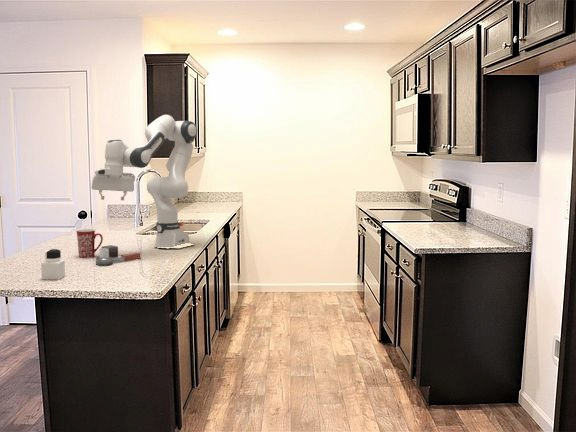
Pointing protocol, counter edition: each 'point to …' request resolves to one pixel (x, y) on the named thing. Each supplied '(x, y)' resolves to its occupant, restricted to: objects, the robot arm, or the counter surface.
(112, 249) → the matte grey cube
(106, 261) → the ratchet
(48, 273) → the medicine bottle
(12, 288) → the counter surface
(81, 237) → the mug
